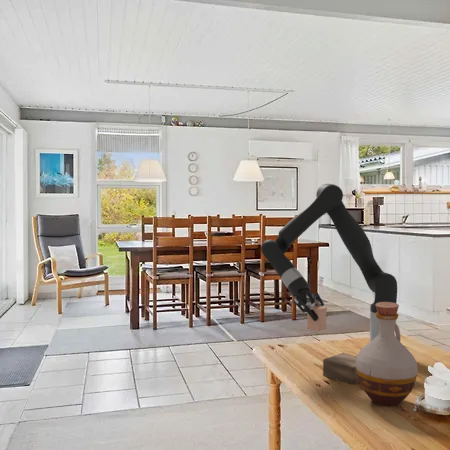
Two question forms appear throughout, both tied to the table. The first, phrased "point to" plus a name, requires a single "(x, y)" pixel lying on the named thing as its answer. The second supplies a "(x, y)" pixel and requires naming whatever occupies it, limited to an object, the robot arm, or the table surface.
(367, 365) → the jug
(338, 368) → the walnut block
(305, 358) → the table surface
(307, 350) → the table surface
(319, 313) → the terracotta block
